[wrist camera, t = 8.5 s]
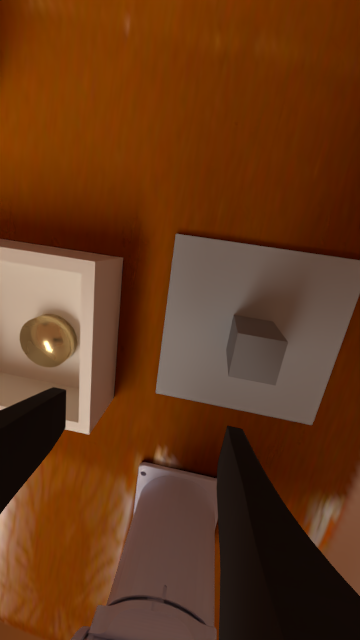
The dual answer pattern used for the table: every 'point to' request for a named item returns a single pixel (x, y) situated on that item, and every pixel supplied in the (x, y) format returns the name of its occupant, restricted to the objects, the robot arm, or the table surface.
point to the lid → (254, 326)
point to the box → (75, 307)
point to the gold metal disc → (48, 340)
